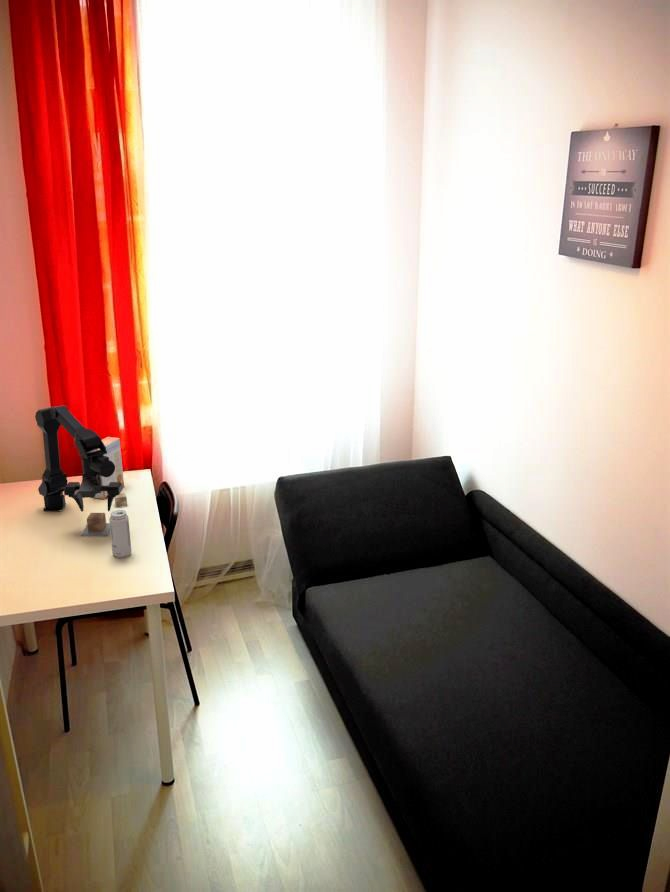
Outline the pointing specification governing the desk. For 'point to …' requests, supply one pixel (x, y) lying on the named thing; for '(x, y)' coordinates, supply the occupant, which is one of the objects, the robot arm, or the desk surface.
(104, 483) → the cracker box
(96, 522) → the walnut cube
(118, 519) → the energy drink can
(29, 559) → the desk surface
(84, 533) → the slate coaster
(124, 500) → the oak block
